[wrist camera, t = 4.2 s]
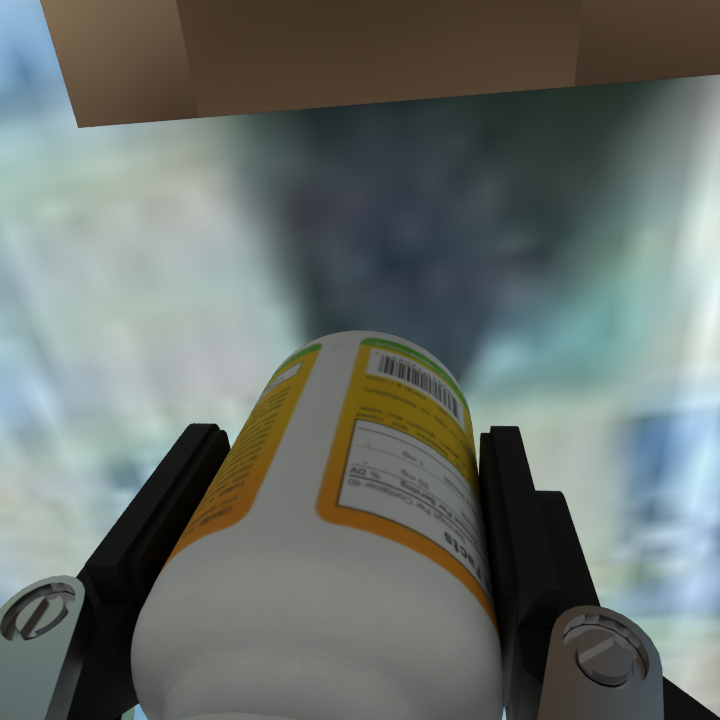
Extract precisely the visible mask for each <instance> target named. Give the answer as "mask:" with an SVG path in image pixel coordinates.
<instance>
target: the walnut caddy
mask: <svg viewBox="0 0 720 720" xmlns="http://www.w3.org/2000/svg"><path fill="white" fill-rule="evenodd" d="M40 2H41V5H42V8H43V12H44V15H45V18H46V22H47V25H48V28H49V32H50V35H51V38H52V42H53V45H54V48H55V52H56V55H57V58H58V62H59V65H60V68H61V72H62V75H63V78H64V82H65V85H66V88H67V92H68V95H69V98H70V102H71V105H72V108H73V112H74V115H75V118H76V122H77V125H78V128H83V127H95V126H107V125H119V124H131V123H143V122H155V121H167V120H179V119H191V118H203V117H215V116H227V115H239V114H251V113H263V112H275V111H287V110H299V109H311V108H323V107H335V106H347V105H359V104H371V103H383V102H395V101H407V100H419V99H431V98H443V97H455V96H466V95H478V94H490V93H502V92H514V91H526V90H538V89H550V88H562V87H574V86H586V85H598V84H610V83H622V82H634V81H646V80H658V79H670V78H682V77H694V76H706V75H718V74H720V0H40Z"/></svg>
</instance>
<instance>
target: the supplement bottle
mask: <svg viewBox="0 0 720 720" xmlns="http://www.w3.org/2000/svg"><path fill="white" fill-rule="evenodd" d="M131 670H132V679H133V684H134V688H135V691H136V694H137V697H138V701H139V703H140V705H141V708H142V710H143V712H144V714H145V715H146V717H147V719H148V720H502V716H503V708H504V678H503V667H502V650H501V642H500V636H499V630H498V623H497V613H496V608H495V601H494V594H493V585H492V578H491V570H490V562H489V554H488V548H487V538H486V529H485V521H484V515H483V507H482V499H481V491H480V483H479V475H478V468H477V460H476V452H475V444H474V436H473V428H472V422H471V416H470V411H469V407H468V403H467V400H466V398H465V395H464V393H463V391H462V389H461V387H460V385H459V384H458V382H457V381H456V379H455V378H454V376H453V375H452V374H451V372H450V371H449V370H448V369H447V368H446V367H445V366H444V365H443V364H442V363H441V362H440V361H439V360H438V359H437V358H436V357H435V356H433V355H432V354H431V353H429V352H428V351H427V350H425V349H424V348H422V347H420V346H418V345H417V344H415V343H413V342H410V341H408V340H406V339H403V338H401V337H398V336H395V335H391V334H388V333H382V332H377V331H364V330H356V331H345V332H339V333H334V334H330V335H327V336H324V337H321V338H319V339H316V340H314V341H312V342H310V343H308V344H306V345H304V346H303V347H301V348H299V349H298V350H297V351H295V352H294V353H293V354H292V355H290V356H289V357H288V358H287V359H286V360H285V361H284V362H283V363H282V364H281V365H280V366H279V368H278V369H277V370H276V372H275V373H274V374H273V376H272V378H271V379H270V381H269V382H268V384H267V386H266V387H265V389H264V391H263V392H262V394H261V396H260V398H259V400H258V401H257V403H256V405H255V407H254V409H253V410H252V412H251V414H250V416H249V418H248V420H247V421H246V423H245V425H244V427H243V428H242V430H241V432H240V434H239V435H238V437H237V439H236V441H235V443H234V444H233V446H232V448H231V450H230V451H229V453H228V455H227V457H226V458H225V460H224V462H223V464H222V465H221V467H220V469H219V470H218V472H217V474H216V476H215V477H214V479H213V481H212V483H211V484H210V485H209V487H208V489H207V492H206V493H205V495H204V497H203V499H202V501H201V502H200V504H199V506H198V507H197V509H196V511H195V512H194V514H193V516H192V517H191V519H190V521H189V523H188V525H187V527H186V528H185V530H184V531H183V533H182V535H181V537H180V539H179V540H178V542H177V544H176V546H175V547H174V549H173V551H172V552H171V554H170V556H169V558H168V559H167V561H166V563H165V565H164V567H163V568H162V570H161V572H160V574H159V575H158V577H157V579H156V581H155V583H154V585H153V588H152V590H151V592H150V594H149V596H148V598H147V600H146V602H145V604H144V606H143V608H142V610H141V612H140V614H139V617H138V620H137V623H136V627H135V630H134V634H133V638H132V647H131Z"/></svg>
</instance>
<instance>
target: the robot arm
mask: <svg viewBox="0 0 720 720" xmlns="http://www.w3.org/2000/svg"><path fill="white" fill-rule="evenodd" d="M230 450H231V449H230V445H229V440H228V436H227V433H226V432H225V431H224V430H220V428H219V427H218V425H217V424H196V423H193V424H190V425H189V426H188V427H187V428H186V429H185V431H184V432H183V433H182V435H181V436H180V437H179V439H178V440H177V441H176V443H175V444H174V445H173V447H172V448H171V449H170V451H169V452H168V453H167V455H166V456H165V457H164V459H163V460H162V461H161V463H160V464H159V465H158V467H157V468H156V470H155V471H154V472H153V474H152V475H151V476H150V478H149V479H148V480H147V482H146V483H145V484H144V486H143V487H142V488H141V490H140V491H139V492H138V494H137V495H136V496H135V498H134V499H133V500H132V502H131V503H130V504H129V506H128V507H127V508H126V510H125V511H124V512H123V514H122V515H121V516H120V518H119V519H118V520H117V522H116V523H115V525H114V526H113V527H112V529H111V530H110V531H109V533H108V534H107V535H106V537H105V538H104V539H103V541H102V542H101V543H100V545H99V546H98V547H97V549H96V550H95V551H94V553H93V554H92V555H91V557H90V558H89V559H88V561H87V562H86V563H85V566H84V567H83V569H82V570H81V571H80V573H79V574H78V575H77V577H76V578H75V577H71V576H66V575H63V576H52V577H49V578H46V579H43V580H39V581H37V582H35V583H33V584H31V585H29V586H27V587H25V588H24V589H22V590H21V591H20V592H18V593H17V594H15V595H14V596H13V597H11V598H10V599H9V600H8V601H7V602H6V603H5V604H4V605H3V606H2V607H1V608H0V720H133V719H134V714H135V706H136V705H137V704H139V701H138V697H137V694H136V691H135V688H134V684H133V679H132V670H131V647H132V638H133V634H134V630H135V627H136V623H137V620H138V617H139V614H140V612H141V610H142V608H143V606H144V604H145V602H146V600H147V598H148V596H149V594H150V592H151V590H152V588H153V585H154V583H155V581H156V579H157V577H158V575H159V574H160V572H161V570H162V568H163V567H164V565H165V563H166V561H167V559H168V558H169V556H170V554H171V552H172V551H173V549H174V547H175V546H176V544H177V542H178V540H179V539H180V537H181V535H182V533H183V531H184V530H185V528H186V527H187V525H188V523H189V521H190V519H191V517H192V516H193V514H194V512H195V511H196V509H197V507H198V506H199V504H200V502H201V501H202V499H203V497H204V495H205V493H206V492H207V489H208V487H209V485H210V484H211V483H212V481H213V479H214V477H215V476H216V474H217V472H218V470H219V469H220V467H221V465H222V464H223V462H224V460H225V458H226V457H227V455H228V453H229V451H230ZM479 483H480V491H481V499H482V507H483V515H484V521H485V529H486V538H487V548H488V554H489V562H490V570H491V578H492V585H493V594H494V601H495V608H496V613H497V623H498V630H499V636H500V642H501V650H502V667H503V678H504V706H505V710H506V718H507V720H720V718H719V717H718V716H717V715H715V714H714V713H713V712H711V711H710V710H709V709H707V708H706V707H704V706H703V705H702V704H700V703H699V702H698V701H696V700H695V699H694V698H692V697H691V696H689V695H688V694H687V693H685V692H684V691H683V690H681V689H680V688H679V687H677V686H676V685H674V684H673V683H672V682H670V681H669V680H668V679H666V678H665V677H664V676H663V675H662V665H661V661H660V656H659V653H658V651H657V649H656V647H655V646H654V644H653V642H652V640H651V639H650V637H649V636H648V635H647V634H646V633H645V632H644V631H643V630H642V629H641V628H640V627H639V626H638V625H637V624H635V623H634V622H633V621H631V620H630V619H628V618H627V617H625V616H624V615H622V614H620V613H617V612H615V611H613V610H610V609H608V608H603V607H601V606H600V603H599V600H598V597H597V594H596V591H595V588H594V585H593V582H592V579H591V576H590V573H589V570H588V566H587V563H586V560H585V557H584V554H583V551H582V548H581V545H580V542H579V539H578V536H577V533H576V530H575V527H574V524H573V521H572V518H571V515H570V512H569V509H568V506H567V503H566V500H565V497H564V495H563V493H562V492H561V491H535V488H534V484H533V480H532V476H531V472H530V468H529V464H528V461H527V457H526V453H525V449H524V445H523V441H522V438H521V434H520V430H519V427H518V426H491V428H490V433H481V435H480V458H479Z"/></svg>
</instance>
